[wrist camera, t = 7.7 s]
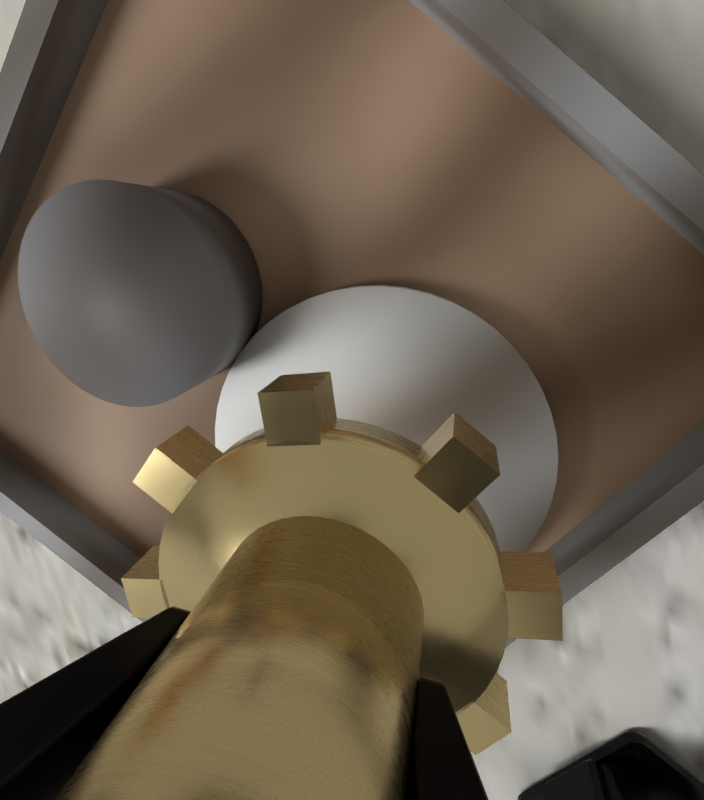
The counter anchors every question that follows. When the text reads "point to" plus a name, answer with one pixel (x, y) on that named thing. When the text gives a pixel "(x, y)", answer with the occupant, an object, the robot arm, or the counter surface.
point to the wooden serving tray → (340, 261)
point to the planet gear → (316, 608)
